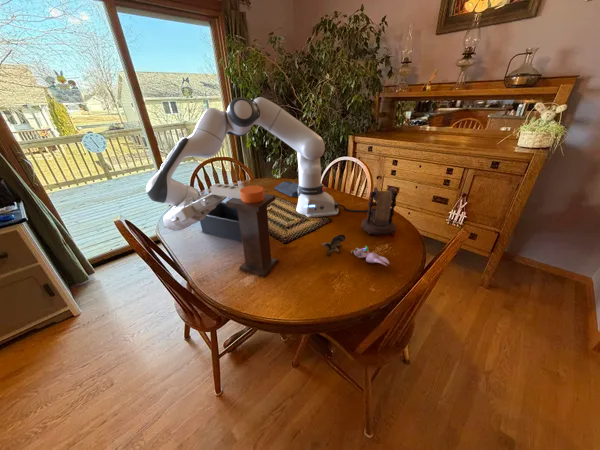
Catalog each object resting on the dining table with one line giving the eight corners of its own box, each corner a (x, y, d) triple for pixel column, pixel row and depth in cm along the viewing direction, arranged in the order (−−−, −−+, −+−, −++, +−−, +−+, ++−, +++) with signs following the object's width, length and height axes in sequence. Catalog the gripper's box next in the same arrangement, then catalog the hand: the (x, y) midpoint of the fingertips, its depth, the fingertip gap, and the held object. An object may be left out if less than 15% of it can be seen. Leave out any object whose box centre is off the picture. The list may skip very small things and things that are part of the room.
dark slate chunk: (290, 183, 164) (290, 177, 162) (312, 192, 150) (312, 184, 147) (272, 188, 155) (272, 181, 153) (293, 198, 141) (293, 190, 138)
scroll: (364, 238, 101) (370, 193, 91) (358, 221, 114) (363, 181, 104) (399, 238, 100) (409, 194, 90) (389, 222, 113) (397, 181, 103)
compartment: (202, 231, 107) (198, 214, 102) (223, 218, 118) (220, 201, 114) (244, 242, 99) (241, 223, 95) (262, 226, 111) (260, 208, 106)
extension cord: (207, 196, 74) (205, 187, 73) (222, 189, 80) (220, 180, 79) (256, 204, 68) (255, 194, 67) (268, 196, 74) (267, 187, 72)
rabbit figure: (348, 258, 90) (382, 272, 79) (347, 244, 88) (383, 257, 77) (358, 252, 94) (393, 265, 82) (358, 238, 92) (393, 250, 80)
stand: (237, 270, 83) (225, 201, 70) (253, 254, 91) (245, 190, 78) (265, 278, 79) (258, 207, 66) (279, 261, 87) (275, 195, 75)
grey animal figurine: (343, 257, 87) (349, 241, 93) (333, 242, 85) (340, 227, 91) (326, 260, 92) (334, 245, 98) (316, 247, 90) (325, 232, 96)
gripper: (163, 214, 76) (186, 199, 69) (207, 192, 93) (230, 179, 85) (175, 230, 78) (198, 218, 70) (216, 206, 94) (239, 194, 87)
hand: (216, 196), depth 78 cm, fingers open, 8 cm apart
